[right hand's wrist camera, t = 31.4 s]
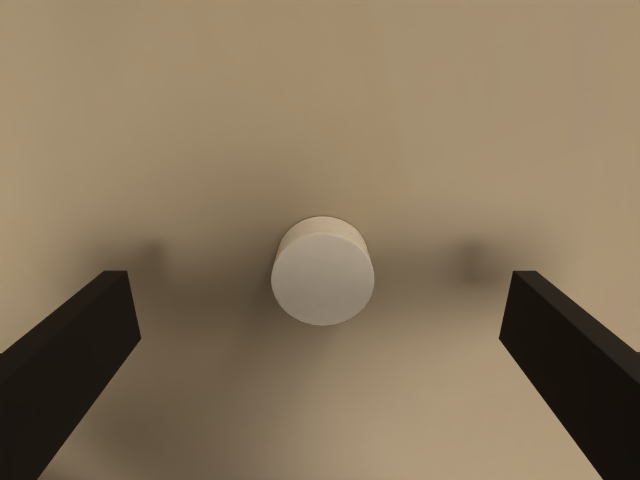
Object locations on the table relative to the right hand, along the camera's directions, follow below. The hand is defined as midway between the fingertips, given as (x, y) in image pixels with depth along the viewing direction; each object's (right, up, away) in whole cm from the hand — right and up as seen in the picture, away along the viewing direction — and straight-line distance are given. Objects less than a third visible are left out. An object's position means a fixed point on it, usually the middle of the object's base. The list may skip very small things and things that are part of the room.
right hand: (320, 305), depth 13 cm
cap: (0, +1, +2) cm, 2 cm away
